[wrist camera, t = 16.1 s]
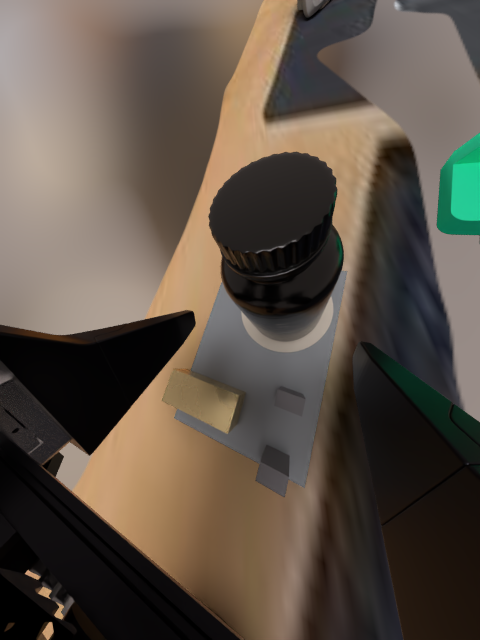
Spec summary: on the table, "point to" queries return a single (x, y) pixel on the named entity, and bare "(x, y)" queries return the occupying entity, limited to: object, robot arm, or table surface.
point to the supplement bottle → (279, 242)
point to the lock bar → (204, 399)
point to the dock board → (268, 387)
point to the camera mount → (460, 191)
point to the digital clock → (311, 6)
